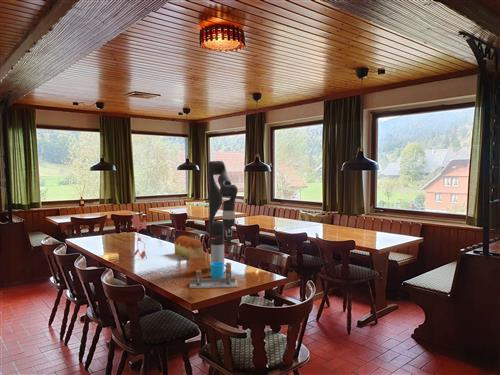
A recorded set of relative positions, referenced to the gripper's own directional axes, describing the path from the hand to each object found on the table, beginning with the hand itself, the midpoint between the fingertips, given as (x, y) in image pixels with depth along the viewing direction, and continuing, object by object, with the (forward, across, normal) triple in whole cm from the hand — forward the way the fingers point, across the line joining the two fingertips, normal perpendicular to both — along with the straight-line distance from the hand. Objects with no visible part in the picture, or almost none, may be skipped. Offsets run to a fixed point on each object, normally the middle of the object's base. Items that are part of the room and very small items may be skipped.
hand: (228, 244), depth 230 cm
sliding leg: (+22, +2, 0) cm, 22 cm away
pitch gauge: (+24, +3, -9) cm, 26 cm away
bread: (+25, -77, -28) cm, 85 cm away
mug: (+24, -17, -5) cm, 30 cm away
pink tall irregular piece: (+24, -70, -68) cm, 101 cm away
